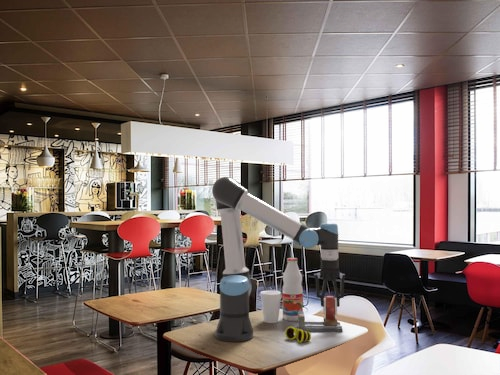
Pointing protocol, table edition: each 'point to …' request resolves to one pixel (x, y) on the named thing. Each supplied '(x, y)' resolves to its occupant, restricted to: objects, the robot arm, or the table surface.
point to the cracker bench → (316, 325)
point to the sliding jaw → (330, 312)
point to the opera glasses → (297, 334)
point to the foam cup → (270, 305)
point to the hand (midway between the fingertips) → (330, 314)
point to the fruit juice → (292, 291)
